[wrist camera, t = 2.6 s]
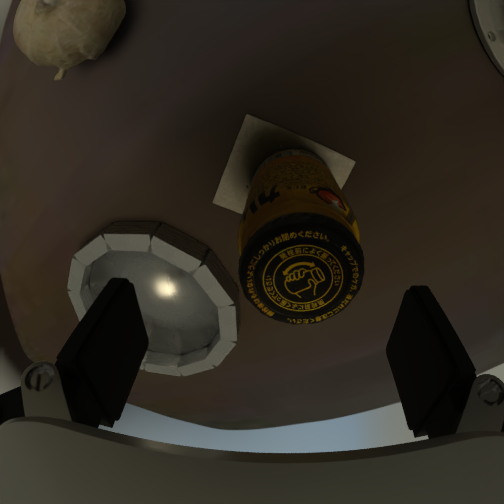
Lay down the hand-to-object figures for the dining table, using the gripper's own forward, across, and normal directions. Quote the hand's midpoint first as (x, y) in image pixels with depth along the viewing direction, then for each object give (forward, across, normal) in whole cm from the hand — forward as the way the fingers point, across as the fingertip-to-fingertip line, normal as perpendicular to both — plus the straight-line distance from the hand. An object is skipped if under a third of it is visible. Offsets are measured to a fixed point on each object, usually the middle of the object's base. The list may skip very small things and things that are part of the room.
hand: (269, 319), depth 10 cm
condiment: (+15, -1, -1) cm, 15 cm away
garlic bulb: (+15, +13, -15) cm, 25 cm away
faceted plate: (+15, +11, +11) cm, 22 cm away
